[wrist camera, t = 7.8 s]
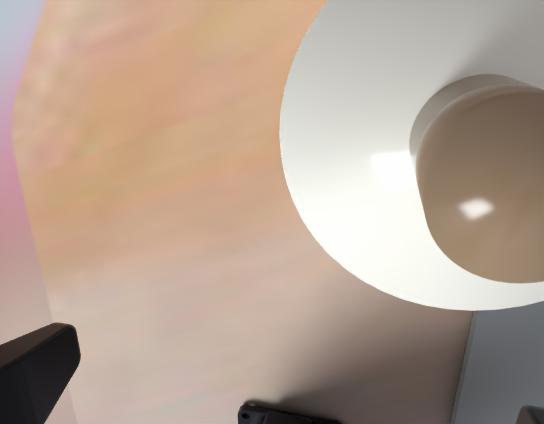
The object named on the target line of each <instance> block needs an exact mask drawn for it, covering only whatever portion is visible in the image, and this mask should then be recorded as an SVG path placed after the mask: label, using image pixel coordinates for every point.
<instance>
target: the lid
mask: <svg viewBox="0 0 544 424" xmlns="http://www.w3.org/2000/svg"><path fill="white" fill-rule="evenodd" d="M279 136H280V149H281V160H282V165H283V169H284V174H285V179H286V182H287V185H288V188H289V191H290V194H291V197H292V200H293V202H294V204H295V206H296V208H297V210H298V212H299V214H300V216H301V218H302V220H303V221H304V223H305V224H306V226H307V227H308V229H309V230H310V232H311V233H312V235H313V236H314V238H315V239H316V240H317V241H318V242H319V244H320V245H321V246H322V247H323V248H324V249H325V250H326V252H327V253H328V254H329V255H330V256H331V257H333V258H334V259H335V260H336V261H337V262H338V263H339V264H340V265H342V266H343V267H344V268H345V269H346V270H348V271H349V272H351V273H352V274H354V275H355V276H357V277H358V278H359V279H361V280H362V281H364V282H366V283H368V284H370V285H372V286H373V287H375V288H377V289H379V290H381V291H383V292H386V293H388V294H391V295H393V296H396V297H398V298H401V299H403V300H407V301H411V302H414V303H418V304H422V305H425V306H431V307H438V308H444V309H453V310H469V311H476V310H498V309H505V308H512V307H519V306H525V305H529V304H533V303H537V302H541V301H544V0H328V1H327V3H326V4H325V5H324V6H323V8H322V9H321V10H320V12H319V13H318V15H317V16H316V18H315V20H314V21H313V23H312V25H311V26H310V28H309V29H308V31H307V33H306V34H305V36H304V38H303V40H302V43H301V45H300V47H299V49H298V51H297V54H296V56H295V58H294V60H293V63H292V66H291V69H290V72H289V76H288V79H287V82H286V85H285V90H284V95H283V101H282V106H281V114H280V133H279Z"/></svg>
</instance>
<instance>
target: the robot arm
mask: <svg viewBox="0 0 544 424" xmlns="http://www.w3.org/2000/svg"><path fill="white" fill-rule="evenodd" d="M80 358H81V353H80V348H79V342H78V337H77V332H76V329H75V327H74V326H72V325H70V324H64V323H52V324H50V325H47V326H45V327H43V328H40V329H38V330H35V331H33V332H30V333H28V334H26V335H23V336H21V337H18V338H16V339H14V340H11V341H9V342H7V343H4V344H1V345H0V424H44V423H45V421H46V420H47V418H48V416H49V415H50V413H51V411H52V410H53V408H54V406H55V404H56V403H57V401H58V399H59V397H60V396H61V394H62V393H63V391H64V389H65V387H66V386H67V384H68V382H69V381H70V379H71V377H72V376H73V374H74V372H75V371H76V369H77V367H78V365H79V362H80ZM246 413H247V414H246ZM238 424H341V423H340V422H337V421H333V420H327V419H322V418H316V417H311V416H305V415H300V414H294V413H289V412H283V411H277V410H272V409H266V408H261V407H255V406H250V405H242V406H241V407H240V409H239V412H238ZM515 424H544V407H538V406H533V405H523V406H522V407H521V409H520V411H519V414H518V417H517V420H516V423H515Z"/></svg>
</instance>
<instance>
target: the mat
mask: <svg viewBox="0 0 544 424" xmlns="http://www.w3.org/2000/svg"><path fill="white" fill-rule="evenodd" d="M523 405H533V406H538V407H544V301H541V302H537V303H533V304H529V305H525V306H519V307H512V308H505V309H498V310H476V311H473V316H472V321H471V326H470V330H469V335H468V340H467V345H466V349H465V354H464V359H463V363H462V368H461V373H460V378H459V382H458V387H457V392H456V397H455V401H454V406H453V411H452V416H451V420H450V424H515V423H516V420H517V417H518V414H519V411H520V409H521V407H522V406H523Z"/></svg>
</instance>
